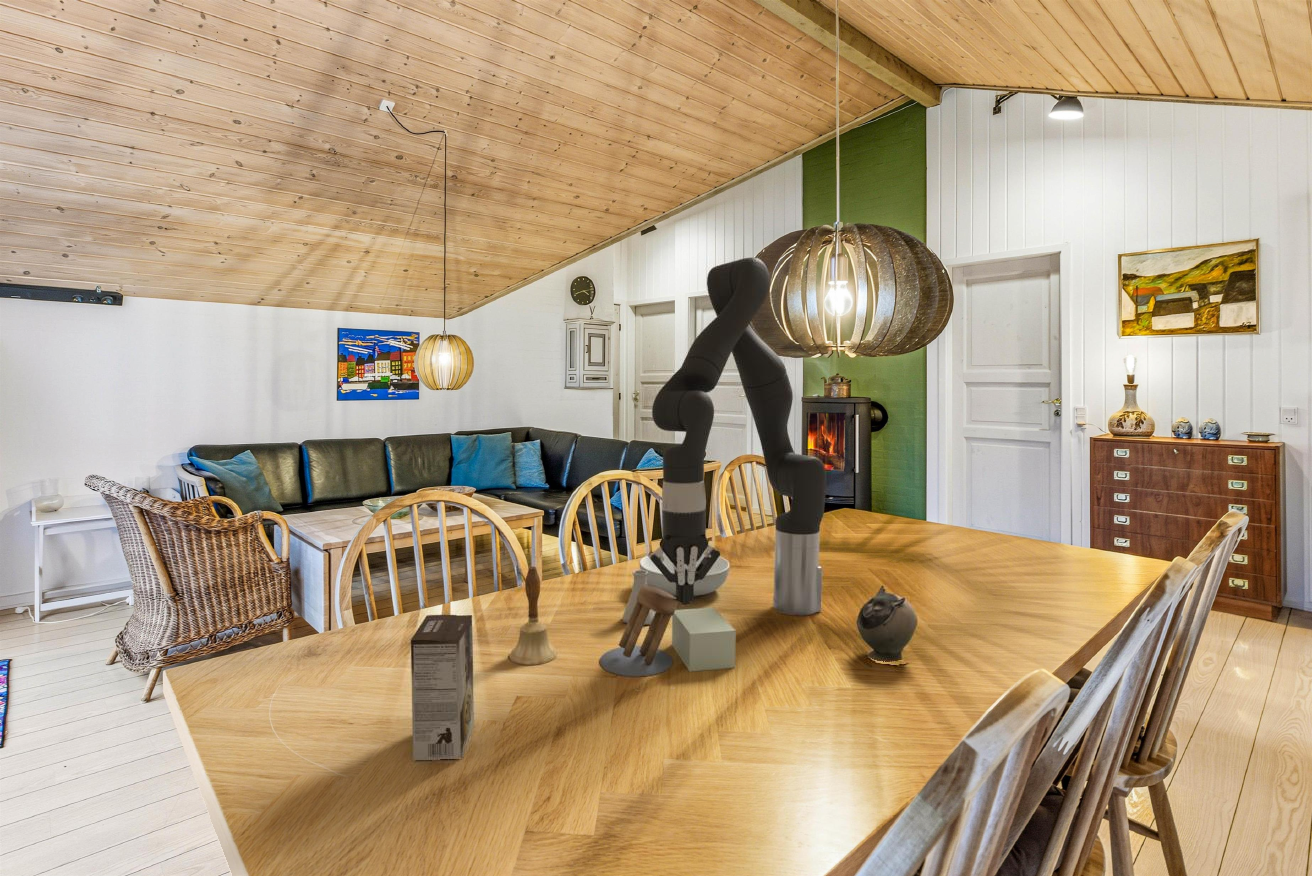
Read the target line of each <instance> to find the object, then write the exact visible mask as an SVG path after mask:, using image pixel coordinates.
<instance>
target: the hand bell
mask: <svg viewBox="0 0 1312 876" xmlns="http://www.w3.org/2000/svg"><path fill="white" fill-rule="evenodd" d="M540 579H541V578H540V575H539V572H538V570H537V567H536V566H529V567H528V570H527V574H526V578H525V581H524V582H525V583H524V586H525V587H524V588H525V589H524V590H525V594H526V598H527V603H528V614H527V616H528V621H527V622H525V623H523V624H522V625H521V627H520V631H519V636H518V641H517V643H516V645H515V647H514V648H513V649H512V650H511V651H510V653H509V656H508V657H509V659H510V661H512V662H514V663H515V664H518V665H523V666H538V665H539V666H540V665H544V664H547V663H550V662H552V661H553V660H555V659H556V658H557V655H558V651H557V650H556V648H555V647H554V646H553V645H552V644H551V642H550V640H549V637H548V631H547V625H546V624H545V623H543V622H540V621H539V607H538V602H539V597H540V593H541V580H540Z"/></svg>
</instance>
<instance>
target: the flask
mask: <svg viewBox="0 0 1312 876" xmlns="http://www.w3.org/2000/svg"><path fill="white" fill-rule="evenodd" d="M632 575H633V584H632V589H631V592H630V595H629V597H628V598H629V599H628V602H627V604H626V607H625V608H624V609H625V610H624V612H623V615H622V621H623V623H626V624H628V621H629V619H630V616H631V614H632V612H633V609H634V607H635V604H636V602H637V600H636V598H637V595H638V593H639V591H640V588H641V586H642V585H648V584H647V575H648V571H645V570H640V569H636V570H633V571H632ZM655 613H656V612H655V611H653V610H651V609H650V611H649V613H648V616H647V618H646V620H645V623H644V625H645V626H646V625H648V626H650V625H651V622H652V620H653V617H654V615H655ZM644 625H643V626H644Z"/></svg>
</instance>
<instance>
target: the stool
mask: <svg viewBox="0 0 1312 876" xmlns="http://www.w3.org/2000/svg"><path fill="white" fill-rule="evenodd" d="M636 600H637V602H636V604H635V607H634V609H633V612H632V614H631V616H630V619H629V621H628V623H626V624H627V625H626V627H625V628H624V631H623V634H622V636H621V638H620V640H619V643H618V646H619V648H620V647H622V648H625V649H624V652H623V655H624V656H626V657H631V654H632V652H633V649H634V647H635V646H637V645H636V644H637V642H638V639H639V637H640V635H641V632H642V630H643V627H644V623H645V620H646V618H647V616H648V613H649V611H650V609H651V610H653V611H654V612H655V615H654V617H653V620H652V622H651V624H649V628H648V629H647V633H645V637H644V639H643V641H642V644H641V645H640V646H641V649H640V651H639V652H640V653H641V654H643V655H646V657H645V659H644V662H645V663H647V664H652V662H653V659H654V657H655V654H656V652H657V649H659V646H660V644H661V642H662V640H663V637H664V635H665V633H666V630H667V628H668V626H669V623H670V620H671V619H672V615H673V614H674V612H675V610H677V607H678V604H679V603H680V602H679V601H678V600H677V598H676V596H674V595H671V594H669V593H667V592H665V591H663V590H661V589H658V588H656V587H653V586H649V585H648V584H647V585H642V586H641V588H640V591H639V593H638V595H637V598H636Z"/></svg>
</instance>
